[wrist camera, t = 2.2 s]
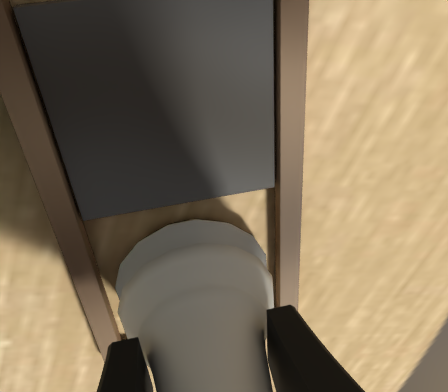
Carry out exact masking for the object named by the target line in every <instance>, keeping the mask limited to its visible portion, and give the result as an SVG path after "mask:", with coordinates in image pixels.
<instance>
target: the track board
mask: <svg viewBox="0 0 448 392" xmlns="http://www.w3.org/2000/svg"><path fill="white" fill-rule="evenodd" d="M273 3H274V57H273ZM13 10H14V13H15V16H16V19H17V22H18V25H19V28H20V31H21V34H22V37H23V40H24V43H25V46H26V49H27V52H28V55H29V58H30V61H31V64H32V67H33V70H34V73H35V76H36V79H37V82H38V85H39V89H40V92H41V95H42V98H43V101H44V104H45V107H46V110H47V113H48V116H49V119H50V122H51V125H52V128H53V131H54V134H55V137H56V140H57V143H58V146H59V149H60V152H61V155H62V158H63V161H64V164H65V167H66V170H67V173H68V176H69V179H70V182H71V185H72V188H73V191H74V195H75V198H76V201H77V204H78V207H79V210H80V213H81V216H82V219H83V221H85V220H91V219H96V218H102V217H108V216H113V215H119V214H125V213H130V212H136V211H142V210H147V209H153V208H159V207H165V206H170V205H176V204H182V203H187V202H193V201H199V200H204V199H210V198H216V197H221V196H227V195H233V194H238V193H244V192H250V191H255V190H261V189H267V188H272V187H275V261H276V308H277V307H281V306H286V305H292V306H294V307H295V308H296V310H297V311H298V294H299V266H300V238H301V210H302V182H303V154H304V126H305V98H306V70H307V42H308V14H309V0H56V1H47V2H38V3H29V4H21V5H16V6H14V7H13ZM39 89H38V86H37V83H36V80H35V77H34V74H33V71H32V68H31V65H30V62H29V59H28V56H27V53H26V50H25V47H24V44H23V41H22V38H21V35H20V32H19V29H18V26H17V23H16V20H15V17H14V14H13V11H12V8H11V5H10V2H9V0H0V93H1V96H2V98H3V101H4V104H5V106H6V109H7V111H8V114H9V117H10V119H11V122H12V124H13V127H14V130H15V132H16V135H17V137H18V140H19V142H20V145H21V148H22V150H23V153H24V155H25V158H26V161H27V163H28V166H29V168H30V171H31V174H32V176H33V179H34V181H35V184H36V186H37V189H38V192H39V194H40V197H41V199H42V202H43V205H44V207H45V210H46V212H47V215H48V218H49V220H50V223H51V225H52V228H53V230H54V233H55V236H56V238H57V241H58V243H59V246H60V249H61V251H62V254H63V256H64V259H65V262H66V264H67V267H68V269H69V272H70V274H71V277H72V280H73V282H74V285H75V287H76V290H77V293H78V295H79V298H80V300H81V303H82V306H83V308H84V311H85V313H86V316H87V318H88V321H89V324H90V326H91V329H92V331H93V334H94V337H95V339H96V342H97V344H98V347H99V350H100V352H101V355H102V357H103V360H104V363H105V359H106V355H107V350H108V346H109V345H110V344H111V343H112V342H116V341H121V340H122V339H121V336H120V333H119V330H118V327H117V324H116V321H115V318H114V315H113V312H112V309H111V306H110V303H109V300H108V297H107V294H106V291H105V288H104V285H103V282H102V279H101V276H100V273H99V270H98V267H97V264H96V261H95V258H94V255H93V252H92V249H91V246H90V243H89V240H88V237H87V234H86V231H85V228H84V225H83V222H82V219H81V216H80V213H79V210H78V207H77V204H76V201H75V198H74V195H73V192H72V189H71V186H70V183H69V180H68V177H67V174H66V171H65V168H64V165H63V162H62V159H61V156H60V153H59V150H58V147H57V144H56V141H55V138H54V135H53V132H52V129H51V126H50V123H49V120H48V117H47V114H46V111H45V107H44V104H43V101H42V98H41V95H40V92H39ZM274 132H275V177H274Z"/></svg>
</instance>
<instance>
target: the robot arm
mask: <svg viewBox="0 0 448 392" xmlns="http://www.w3.org/2000/svg"><path fill="white" fill-rule="evenodd" d="M266 312H267V350H268V363H269V367H270V370H271V374H272V378H273V381H274V385H275V388H276V392H365V391H364V390H363V389H362V388H361V387H360V386H359V385H358V384H357V383H356V381H355V380H354V379H353V378H352V377H351V376H350V375H349V374H348V373H347V371H346V370H345V369H344V368H343V367H342V366H341V365H340V364H339V363H338V361H337V360H336V359H335V358H334V357H333V356H332V354H331V353H330V352H329V351H328V350H327V349H326V347H325V346H324V345H323V344H322V342H321V341H320V340H319V339H318V338H317V336H316V335H315V334H314V333H313V331H312V330H311V329H310V327H309V326H308V325H307V323H306V322H305V321H304V319H303V318H302V317H301V315H300V314H299V313H298V311H297V310H296V308H295V307H294V306H292V305H286V306H281V307H277V308H272V309H267V310H266ZM97 392H153V386H152V382H151V379H150V376H149V372H148V369H147V365H146V362H145V359H144V355H143V352H142V348H141V345H140V342H139V338H138V337H135V338H130V339H126V340H121V341H116V342H112V343H111V344H110V345H109V346H108V350H107V355H106V359H105V363H104V367H103V371H102V375H101V379H100V382H99V386H98V389H97Z"/></svg>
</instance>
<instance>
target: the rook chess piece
mask: <svg viewBox="0 0 448 392" xmlns="http://www.w3.org/2000/svg"><path fill="white" fill-rule="evenodd" d="M115 289H116V292H117V295H118V297H119V300H120V302H119V307H118V314H119V317H120V320H121V322H122V325H123V328H124V330H125V333H126V335H127V338H128V339H130V338H135V337H138V338H139V342H140V345H141V348H142V352H143V355H144V359H145V362H146V365H147V366H148V367H150V369H151V371H152V374H153V378H154V382H155V387H156V391H157V392H273V390H272V384H271V378H270V373H269V367H268V361H267V355H266V349H265V340H266V338H267V312H266V310H267V309H272V308H274V295H273V279H272V275H271V274H270V272H269V271H268V270H267V264H266V254H265V253H264V251H263V250H262V248H261V247H260V245H259V244H258V242H257V241H256V240H255V238H254V237H253V236H252V235H250V234H249V233H247V232H245V231H243V230H241V229H239V228H237V227H235V226H234V225H232V224H230V223H225V222H218V221H209V220H200V219H192V220H187V221H182V222H178V223H173V224H168V225H167V226H165V227H163V228H161V229H160V230H158V231H156V232H155V233H153V234H151V235H149V236H148V237H146V238H144V239H143V240H141V241H139V242H138V243H137V244H136V245H135V246H134V248H133V249H132V250H131V251H130V253H129V254H128V255H127V256H126V258H125V259H124V260H123V261H122V263H121V264H120V267H119V271H118V276H117V281H116V286H115Z"/></svg>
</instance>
